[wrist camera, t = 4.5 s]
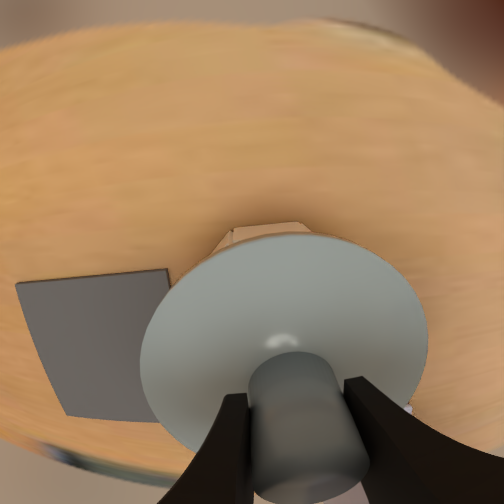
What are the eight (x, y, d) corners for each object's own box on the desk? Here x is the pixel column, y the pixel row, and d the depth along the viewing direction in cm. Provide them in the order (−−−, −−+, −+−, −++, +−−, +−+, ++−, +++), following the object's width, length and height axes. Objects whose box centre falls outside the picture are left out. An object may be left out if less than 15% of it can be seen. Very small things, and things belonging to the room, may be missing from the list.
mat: (201, 418, 20) (200, 422, 20) (68, 412, 20) (66, 415, 19) (167, 268, 17) (165, 270, 17) (18, 282, 17) (14, 284, 17)
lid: (392, 439, 12) (427, 512, 8) (175, 461, 12) (161, 544, 8) (433, 224, 10) (533, 266, 5) (120, 242, 10) (38, 303, 5)
